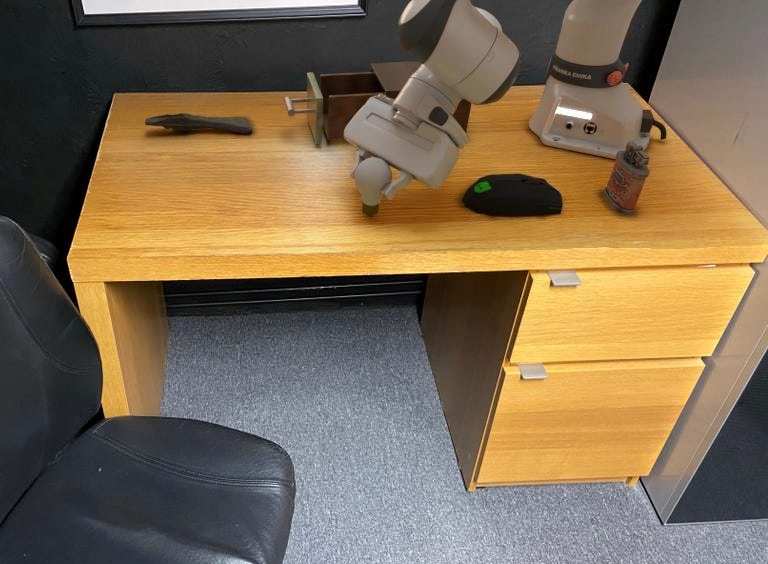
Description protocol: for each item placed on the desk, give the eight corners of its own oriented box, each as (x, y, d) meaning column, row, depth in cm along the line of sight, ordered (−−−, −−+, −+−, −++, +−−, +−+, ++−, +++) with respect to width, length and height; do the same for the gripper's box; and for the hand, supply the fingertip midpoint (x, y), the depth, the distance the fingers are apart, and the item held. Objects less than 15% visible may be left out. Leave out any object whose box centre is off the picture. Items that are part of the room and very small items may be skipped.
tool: (247, 124, 143) (248, 109, 141) (253, 138, 137) (254, 122, 135) (144, 123, 138) (143, 107, 137) (145, 137, 132) (145, 121, 131)
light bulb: (364, 228, 111) (368, 171, 105) (345, 211, 115) (348, 155, 108) (394, 219, 113) (401, 163, 107) (375, 203, 117) (380, 147, 110)
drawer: (290, 145, 131) (289, 99, 125) (282, 117, 140) (282, 73, 134) (395, 139, 133) (400, 93, 127) (381, 112, 142) (385, 68, 136)
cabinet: (380, 146, 133) (385, 91, 125) (366, 116, 142) (370, 63, 135) (464, 140, 134) (474, 86, 127) (444, 111, 144) (453, 59, 137)
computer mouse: (454, 184, 122) (457, 163, 119) (545, 180, 122) (551, 159, 120) (471, 219, 113) (475, 197, 111) (569, 214, 114) (576, 193, 111)
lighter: (598, 191, 120) (617, 136, 113) (617, 190, 120) (637, 135, 113) (618, 215, 114) (639, 159, 107) (638, 214, 114) (660, 158, 107)
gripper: (366, 80, 111) (317, 154, 114) (462, 123, 100) (405, 205, 102) (383, 100, 116) (337, 171, 119) (477, 144, 105) (423, 221, 107)
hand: (369, 187), depth 110 cm, fingers closed on light bulb, 6 cm apart
